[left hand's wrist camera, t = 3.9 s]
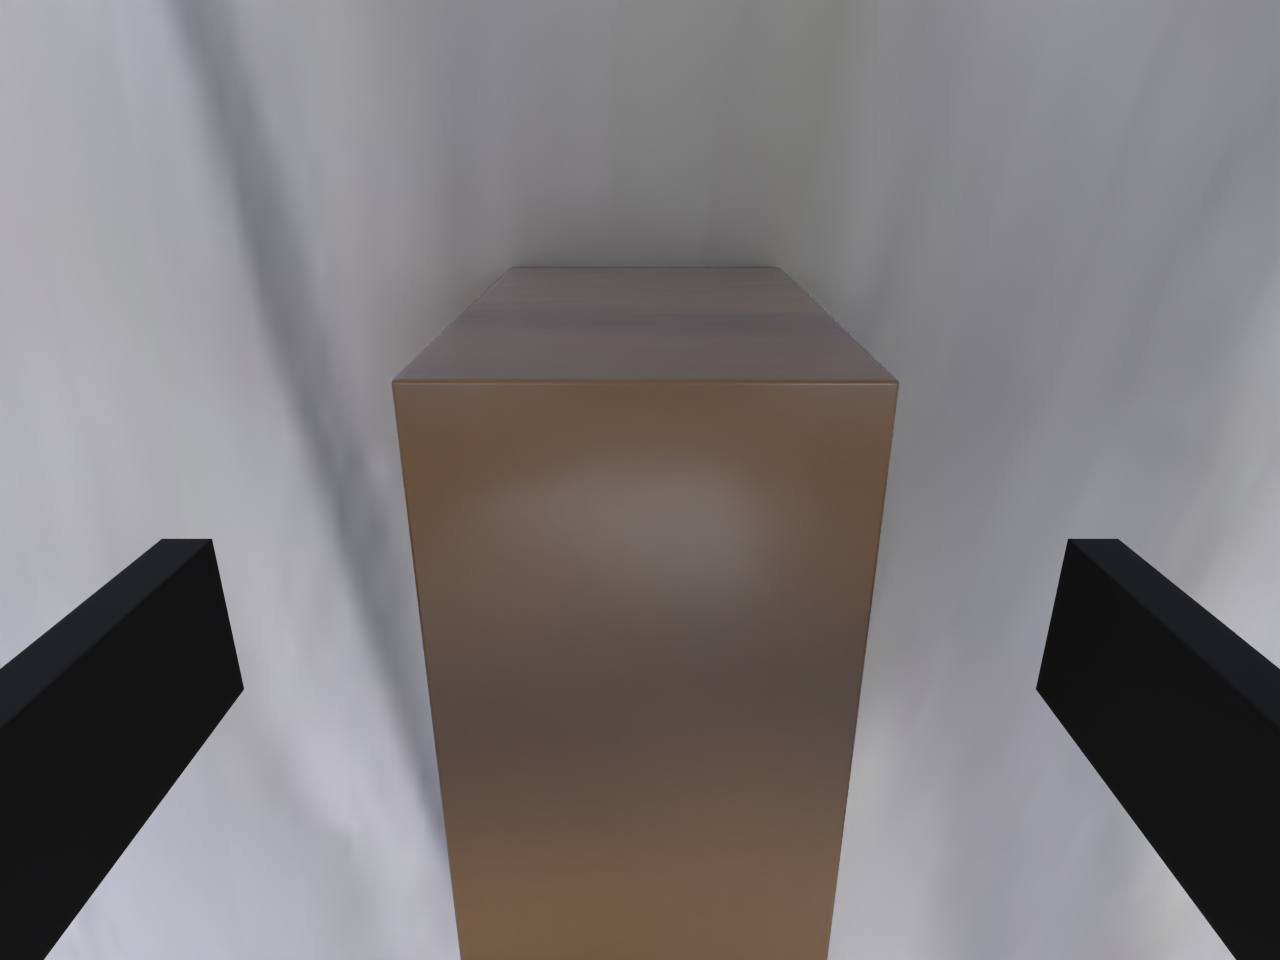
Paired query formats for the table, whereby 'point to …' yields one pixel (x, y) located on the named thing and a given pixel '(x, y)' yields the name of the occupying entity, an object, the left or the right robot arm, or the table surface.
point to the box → (644, 606)
